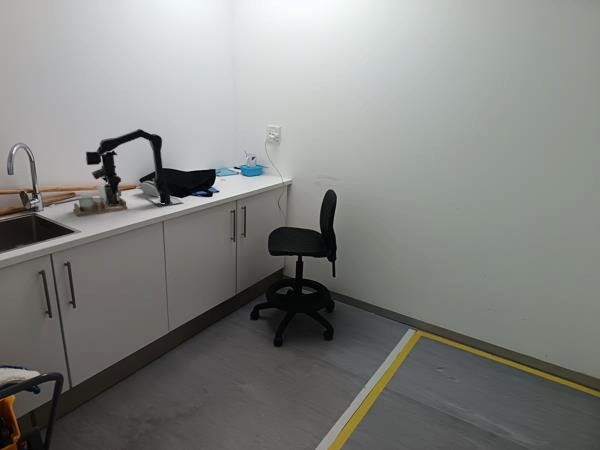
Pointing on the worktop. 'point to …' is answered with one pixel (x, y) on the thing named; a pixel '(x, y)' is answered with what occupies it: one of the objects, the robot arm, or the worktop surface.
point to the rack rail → (96, 207)
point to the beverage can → (111, 195)
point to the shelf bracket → (102, 192)
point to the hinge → (149, 188)
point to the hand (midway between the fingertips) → (112, 192)
